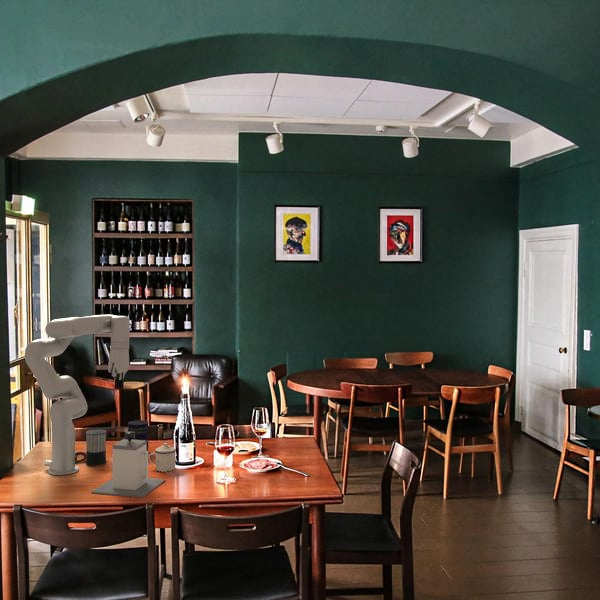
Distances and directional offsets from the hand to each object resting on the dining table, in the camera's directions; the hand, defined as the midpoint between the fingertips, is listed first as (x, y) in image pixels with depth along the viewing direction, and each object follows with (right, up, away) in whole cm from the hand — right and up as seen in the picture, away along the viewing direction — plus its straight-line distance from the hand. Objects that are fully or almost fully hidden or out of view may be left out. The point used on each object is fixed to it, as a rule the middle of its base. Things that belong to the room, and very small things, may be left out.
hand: (119, 388), depth 276 cm
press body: (+8, -38, -8) cm, 40 cm away
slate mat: (+6, -39, -8) cm, 40 cm away
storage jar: (-3, -37, +43) cm, 57 cm away
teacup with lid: (+14, -39, +17) cm, 45 cm away
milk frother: (-21, -38, +25) cm, 50 cm away
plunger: (+6, -35, -8) cm, 37 cm away
